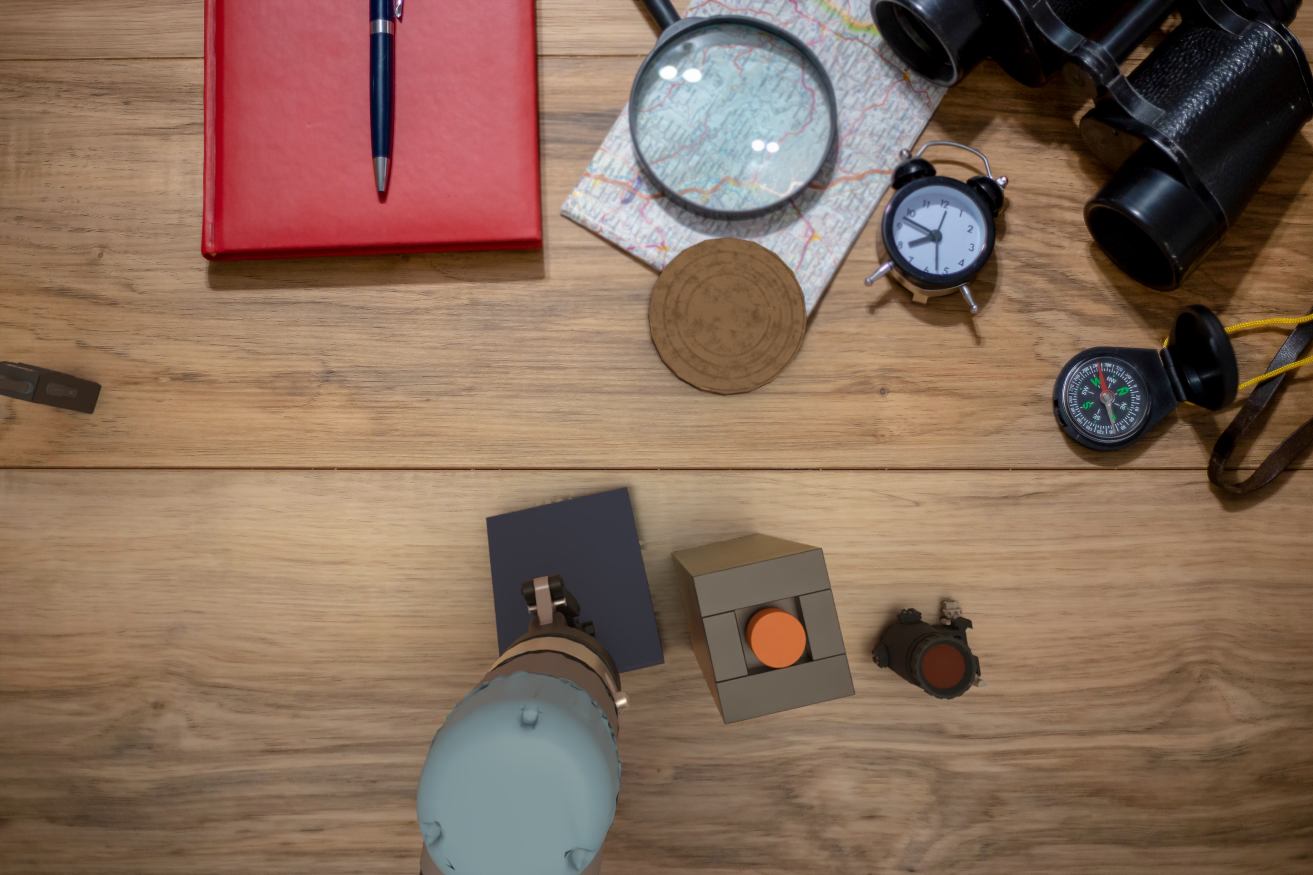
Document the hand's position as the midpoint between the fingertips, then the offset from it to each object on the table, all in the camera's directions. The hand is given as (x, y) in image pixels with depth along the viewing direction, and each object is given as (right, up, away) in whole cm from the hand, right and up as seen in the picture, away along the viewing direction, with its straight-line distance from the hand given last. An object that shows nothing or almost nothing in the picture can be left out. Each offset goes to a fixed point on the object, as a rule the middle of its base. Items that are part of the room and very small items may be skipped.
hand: (577, 636), depth 70 cm
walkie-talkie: (-51, +20, +18) cm, 58 cm away
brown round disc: (+13, +28, +20) cm, 37 cm away
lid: (-1, +3, +4) cm, 5 cm away
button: (+14, +3, -11) cm, 18 cm away
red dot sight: (+32, -5, +18) cm, 37 cm away
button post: (+13, +1, +18) cm, 22 cm away
